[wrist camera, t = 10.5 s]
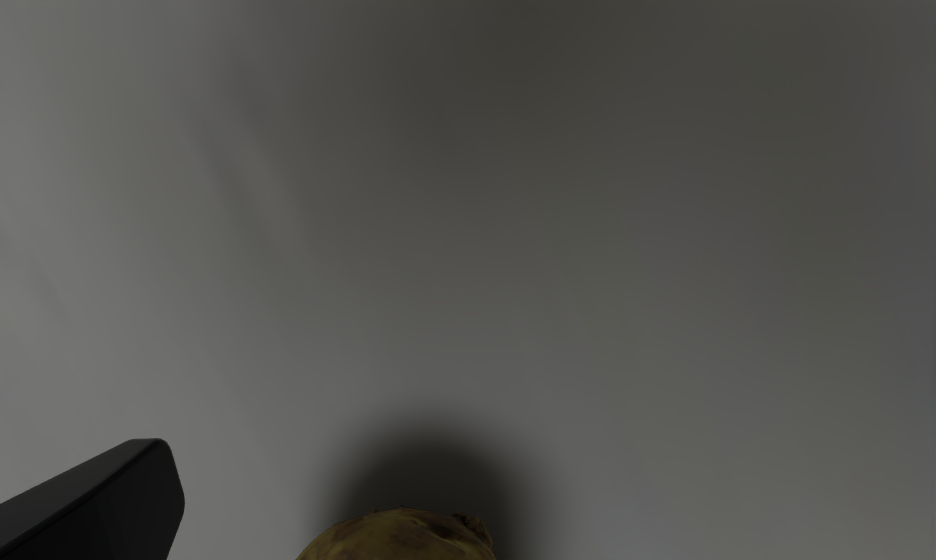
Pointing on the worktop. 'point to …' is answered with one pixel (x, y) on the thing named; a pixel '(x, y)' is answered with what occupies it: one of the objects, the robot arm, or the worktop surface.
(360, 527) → the potato
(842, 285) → the worktop surface
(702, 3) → the worktop surface
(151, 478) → the robot arm
